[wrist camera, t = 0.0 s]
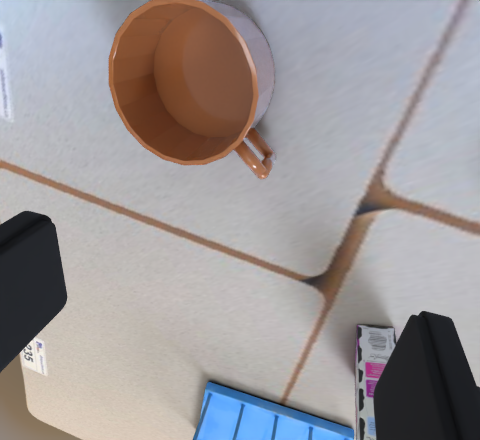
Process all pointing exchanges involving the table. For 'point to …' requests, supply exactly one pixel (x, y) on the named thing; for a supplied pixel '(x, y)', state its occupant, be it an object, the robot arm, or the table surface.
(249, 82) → the orange coffee mug
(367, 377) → the candy bar box
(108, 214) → the table surface
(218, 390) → the file sorter
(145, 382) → the table surface
